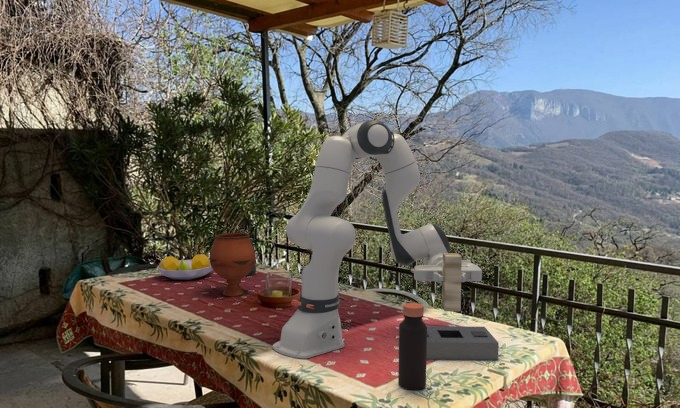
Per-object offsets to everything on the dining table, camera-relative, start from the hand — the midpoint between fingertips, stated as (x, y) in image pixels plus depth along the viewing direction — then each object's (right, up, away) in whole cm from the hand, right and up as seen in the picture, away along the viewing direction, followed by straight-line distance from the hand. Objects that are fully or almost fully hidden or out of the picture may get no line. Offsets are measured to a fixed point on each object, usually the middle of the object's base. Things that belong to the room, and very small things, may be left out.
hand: (452, 279), depth 145 cm
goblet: (-77, -16, +66) cm, 103 cm away
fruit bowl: (-106, -14, +95) cm, 143 cm away
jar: (-79, -13, +101) cm, 129 cm away
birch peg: (0, -9, +2) cm, 9 cm away
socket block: (0, -21, +2) cm, 22 cm away
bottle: (-15, -23, -20) cm, 34 cm away
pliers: (-34, -17, +64) cm, 74 cm away
